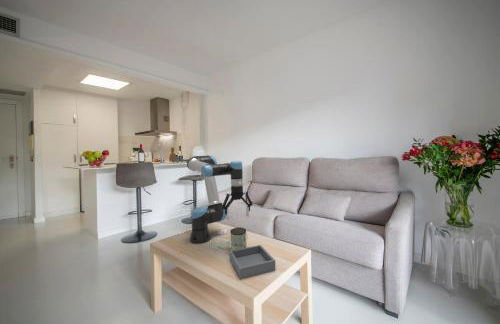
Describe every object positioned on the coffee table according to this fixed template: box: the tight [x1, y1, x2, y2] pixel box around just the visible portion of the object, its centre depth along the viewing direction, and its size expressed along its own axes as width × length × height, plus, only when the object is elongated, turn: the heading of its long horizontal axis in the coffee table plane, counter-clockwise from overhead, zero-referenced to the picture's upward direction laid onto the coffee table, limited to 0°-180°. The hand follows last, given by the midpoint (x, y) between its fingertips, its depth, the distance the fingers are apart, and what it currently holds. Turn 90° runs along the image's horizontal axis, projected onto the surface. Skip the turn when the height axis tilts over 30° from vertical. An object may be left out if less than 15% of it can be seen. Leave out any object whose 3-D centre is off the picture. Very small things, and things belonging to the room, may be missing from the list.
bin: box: [229, 244, 276, 280], centre depth 122 cm, size 20×20×6 cm
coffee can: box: [229, 227, 247, 251], centre depth 138 cm, size 10×10×14 cm
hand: (237, 217), depth 136 cm, fingers open, 13 cm apart
